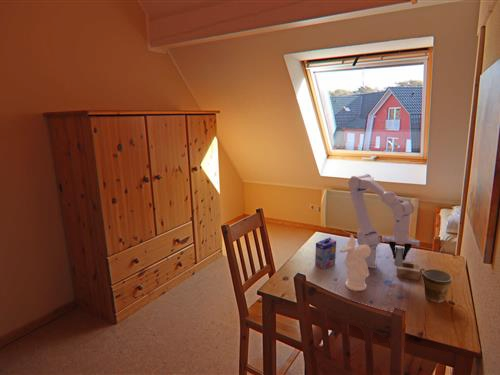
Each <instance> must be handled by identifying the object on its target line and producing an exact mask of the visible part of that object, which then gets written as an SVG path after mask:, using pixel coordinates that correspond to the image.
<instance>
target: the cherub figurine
mask: <svg viewBox="0 0 500 375" xmlns="http://www.w3.org/2000/svg"><path fill="white" fill-rule="evenodd" d="M356 246H357V245H356V238H355V237H354V235H353V233H351V234H350V235H349V240H348V242H347V244H346V246H344V247H343V249H340V250H339V253H342V254H343V253H346V254H345V259H344V265H345V267H346V268H347V270H346V277H347V278H346V279H347V280H346V281H345V287H346V288H347V289H349V290H351V291H354V292H360V291H361V292H363V291H365V290H366V289H367V287H368V286H367V283H366V278H368V277H369V276H370V270H369V267H367V263H366V260H365V258H366V257H368V256H369V255H370V253H371V249H370V247H369V245H367V244H363V245H360V246H357V247H356Z"/></svg>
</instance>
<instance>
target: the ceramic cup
mask: <svg viewBox="0 0 500 375" xmlns="http://www.w3.org/2000/svg"><path fill="white" fill-rule="evenodd" d="M420 275H421V276H422V281H423V285H424V295H425V298H426V299H427V300H429V301H430V302H434V303H438V304H439V303H443V302H444V301H445V300H446V297H447V294H448V291H449V289H450V286H451V284H452V281H453V276H452V275H451V274H449V272H448V273H447V272H446V271H444V270H440V269H437V268H434V269H433V268H428V269H425V268H421V269H420Z"/></svg>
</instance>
